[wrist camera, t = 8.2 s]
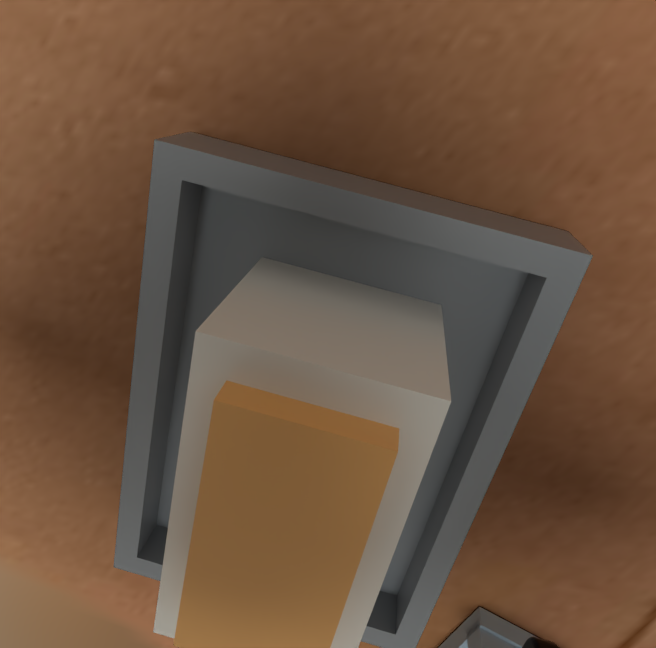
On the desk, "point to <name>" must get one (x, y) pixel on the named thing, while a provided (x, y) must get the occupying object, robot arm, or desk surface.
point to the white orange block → (298, 459)
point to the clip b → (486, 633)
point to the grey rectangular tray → (358, 266)
